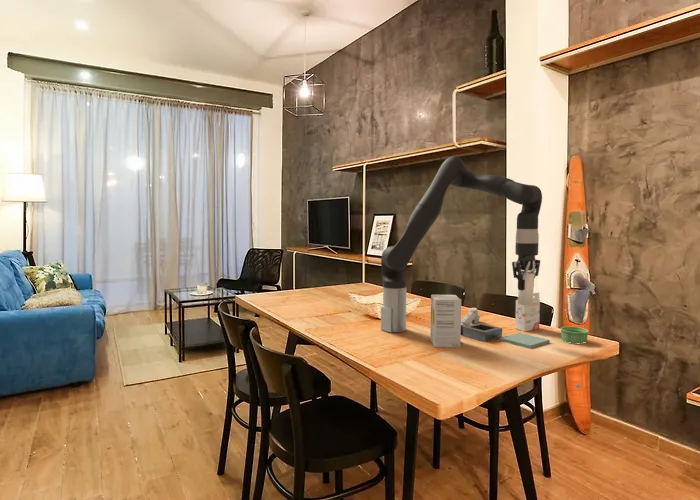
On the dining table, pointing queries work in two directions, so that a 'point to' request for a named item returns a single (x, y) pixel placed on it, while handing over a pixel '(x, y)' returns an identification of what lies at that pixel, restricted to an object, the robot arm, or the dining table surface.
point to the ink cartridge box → (528, 315)
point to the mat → (524, 340)
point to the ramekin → (574, 334)
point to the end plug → (527, 291)
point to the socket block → (482, 332)
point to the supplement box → (445, 321)
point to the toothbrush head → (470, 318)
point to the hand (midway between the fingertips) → (525, 289)
